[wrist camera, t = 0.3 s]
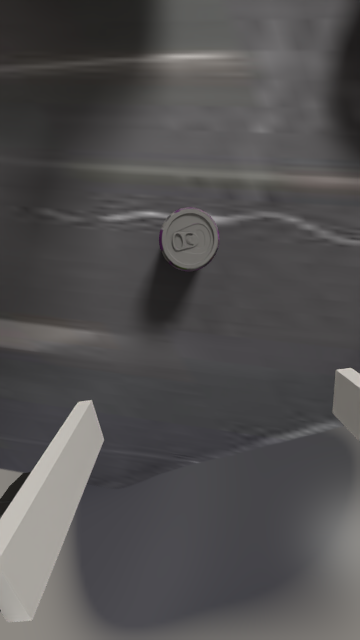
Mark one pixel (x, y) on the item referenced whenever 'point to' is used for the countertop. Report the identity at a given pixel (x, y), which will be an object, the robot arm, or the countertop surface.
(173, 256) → the beverage can
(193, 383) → the countertop surface
